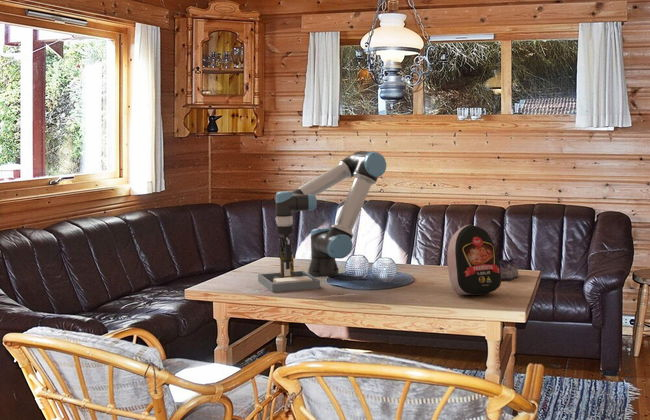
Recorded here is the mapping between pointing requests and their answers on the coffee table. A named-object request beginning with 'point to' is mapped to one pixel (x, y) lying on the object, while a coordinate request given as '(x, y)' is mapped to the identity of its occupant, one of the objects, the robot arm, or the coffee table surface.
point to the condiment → (283, 266)
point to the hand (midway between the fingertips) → (285, 274)
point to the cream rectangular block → (291, 279)
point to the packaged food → (473, 262)
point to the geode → (508, 269)
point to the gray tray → (279, 287)
